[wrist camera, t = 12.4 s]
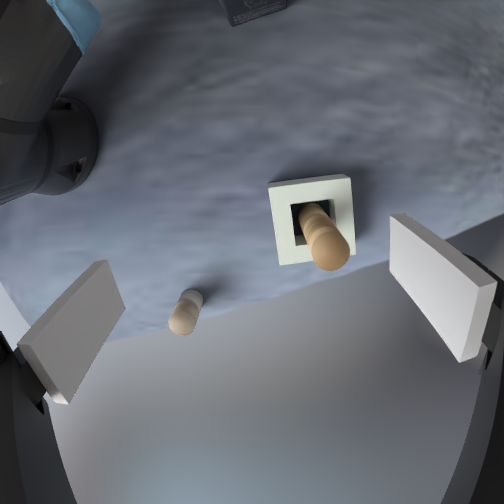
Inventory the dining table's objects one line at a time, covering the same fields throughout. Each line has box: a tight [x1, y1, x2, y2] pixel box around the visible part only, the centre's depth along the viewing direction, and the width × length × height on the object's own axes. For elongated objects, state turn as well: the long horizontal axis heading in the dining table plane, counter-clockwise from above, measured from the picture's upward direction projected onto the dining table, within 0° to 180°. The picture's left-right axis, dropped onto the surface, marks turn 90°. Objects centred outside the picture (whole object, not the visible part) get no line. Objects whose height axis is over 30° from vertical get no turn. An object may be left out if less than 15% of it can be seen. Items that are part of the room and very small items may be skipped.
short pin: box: [169, 289, 203, 335], centre depth 43 cm, size 4×4×7 cm
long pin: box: [297, 202, 350, 271], centre depth 34 cm, size 4×4×14 cm
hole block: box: [268, 174, 356, 265], centre depth 39 cm, size 10×10×4 cm
